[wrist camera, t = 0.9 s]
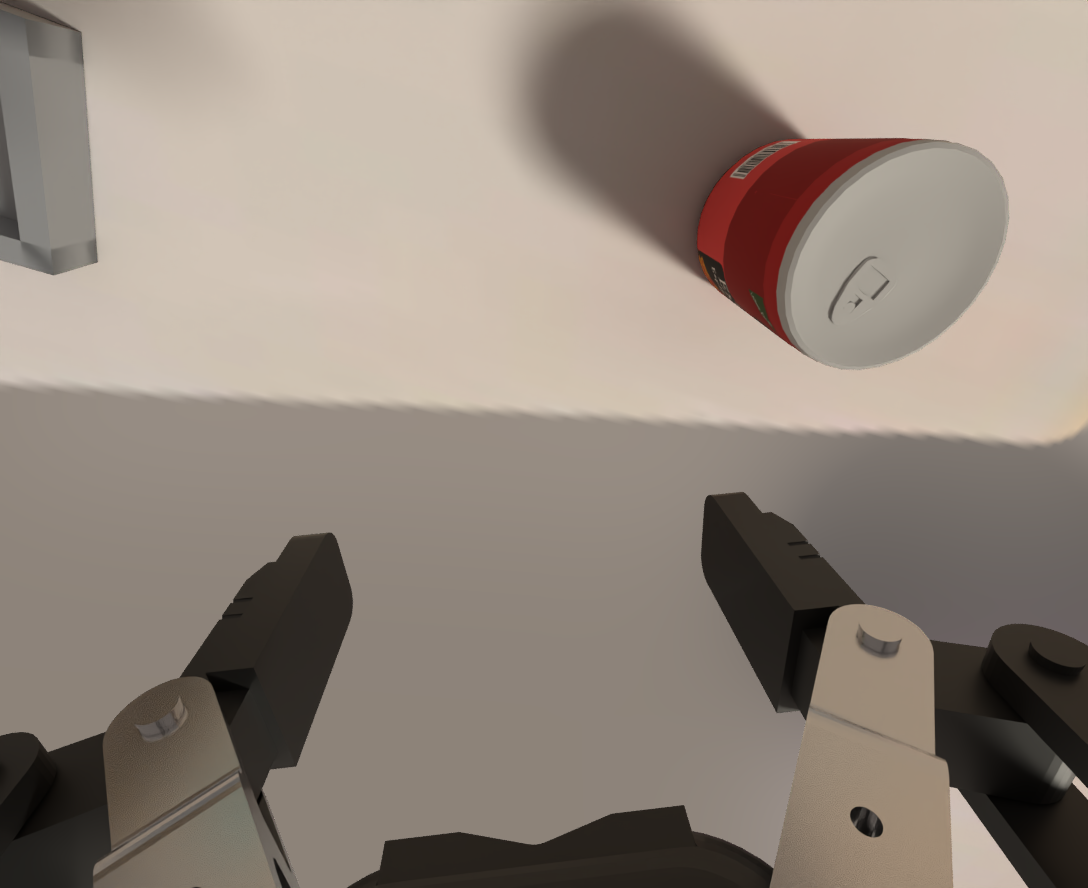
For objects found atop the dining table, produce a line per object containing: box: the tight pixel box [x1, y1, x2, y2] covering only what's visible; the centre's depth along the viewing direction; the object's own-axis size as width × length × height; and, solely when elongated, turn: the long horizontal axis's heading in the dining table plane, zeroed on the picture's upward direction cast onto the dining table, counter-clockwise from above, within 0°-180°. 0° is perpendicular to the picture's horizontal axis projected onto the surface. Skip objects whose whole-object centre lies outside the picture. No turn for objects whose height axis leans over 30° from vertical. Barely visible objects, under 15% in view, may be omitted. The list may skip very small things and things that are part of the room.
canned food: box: [697, 138, 1009, 370], centre depth 23 cm, size 8×8×11 cm
